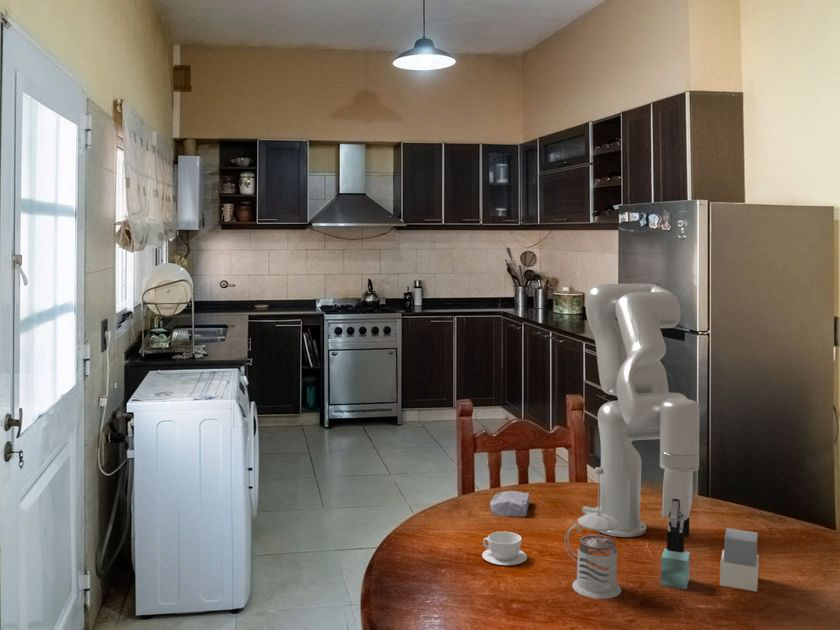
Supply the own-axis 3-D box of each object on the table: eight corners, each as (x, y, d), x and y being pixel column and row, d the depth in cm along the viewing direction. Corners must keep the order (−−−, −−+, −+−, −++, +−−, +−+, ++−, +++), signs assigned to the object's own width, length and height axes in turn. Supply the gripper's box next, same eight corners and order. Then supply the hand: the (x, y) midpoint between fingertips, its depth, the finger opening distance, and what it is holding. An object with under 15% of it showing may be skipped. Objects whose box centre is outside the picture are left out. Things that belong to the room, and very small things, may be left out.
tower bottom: (719, 585, 159) (720, 562, 158) (722, 572, 165) (722, 549, 164) (756, 592, 156) (757, 568, 155) (757, 578, 162) (758, 555, 161)
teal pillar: (660, 585, 159) (661, 557, 158) (663, 575, 163) (664, 548, 163) (686, 589, 157) (687, 561, 156) (688, 580, 161) (689, 552, 160)
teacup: (532, 553, 175) (532, 533, 175) (519, 570, 166) (519, 549, 166) (490, 546, 179) (490, 526, 179) (475, 562, 170) (475, 542, 170)
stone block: (490, 523, 199) (529, 518, 197) (487, 504, 199) (525, 499, 197) (495, 509, 211) (531, 504, 209) (492, 491, 211) (528, 486, 209)
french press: (612, 603, 151) (615, 477, 148) (556, 589, 157) (558, 468, 155) (628, 584, 159) (630, 464, 157) (573, 571, 165) (575, 456, 163)
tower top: (723, 561, 158) (724, 537, 158) (725, 551, 164) (726, 528, 163) (755, 566, 156) (756, 542, 155) (756, 555, 161) (757, 532, 161)
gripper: (665, 449, 167) (664, 528, 167) (653, 468, 151) (653, 554, 152) (702, 452, 163) (701, 532, 164) (694, 472, 148) (693, 560, 149)
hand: (678, 543), depth 158 cm, fingers open, 9 cm apart
